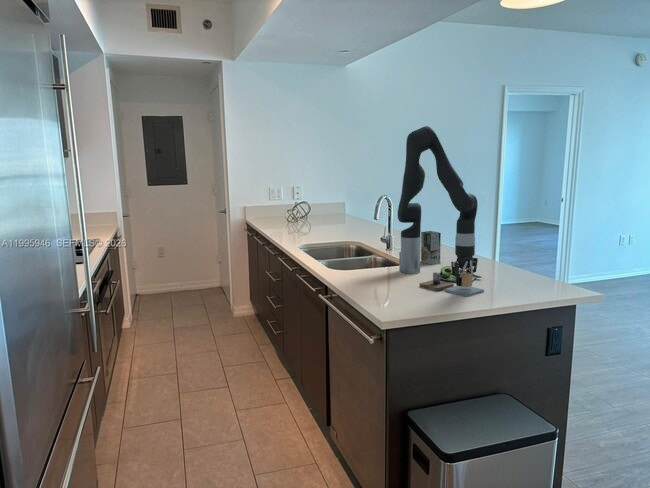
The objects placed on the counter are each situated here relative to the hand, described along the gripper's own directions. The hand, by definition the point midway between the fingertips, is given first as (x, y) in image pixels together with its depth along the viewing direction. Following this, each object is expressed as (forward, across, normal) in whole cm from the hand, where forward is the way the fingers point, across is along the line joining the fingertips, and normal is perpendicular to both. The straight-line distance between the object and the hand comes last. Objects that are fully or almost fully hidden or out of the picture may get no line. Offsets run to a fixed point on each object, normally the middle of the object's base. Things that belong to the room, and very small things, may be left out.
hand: (464, 284), depth 193 cm
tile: (+3, 0, 0) cm, 3 cm away
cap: (0, 0, 0) cm, 0 cm away
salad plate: (+4, +15, +17) cm, 23 cm away
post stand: (+3, -3, +12) cm, 13 cm away
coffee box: (+3, +32, +47) cm, 57 cm away
